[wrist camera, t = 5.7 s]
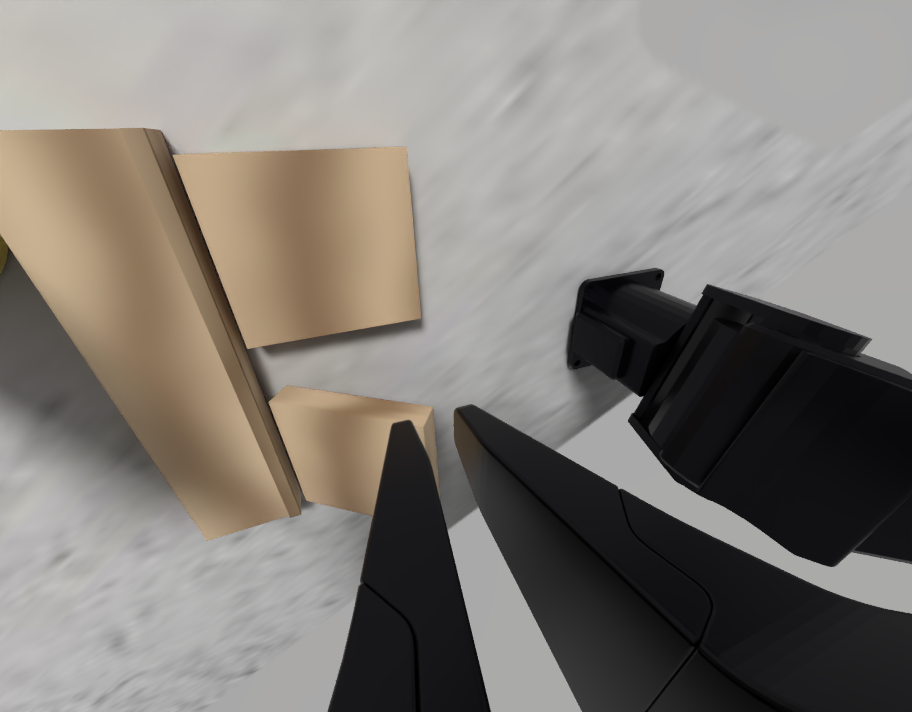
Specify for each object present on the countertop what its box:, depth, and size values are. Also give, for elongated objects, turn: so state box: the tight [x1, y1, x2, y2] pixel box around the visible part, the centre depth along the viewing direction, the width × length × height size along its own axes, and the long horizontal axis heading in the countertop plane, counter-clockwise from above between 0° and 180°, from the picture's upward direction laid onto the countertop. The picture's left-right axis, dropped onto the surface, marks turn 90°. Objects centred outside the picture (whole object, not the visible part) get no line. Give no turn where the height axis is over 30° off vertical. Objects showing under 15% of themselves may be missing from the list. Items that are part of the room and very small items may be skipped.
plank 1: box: [173, 147, 421, 349], centre depth 15 cm, size 8×8×1 cm
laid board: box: [0, 128, 301, 541], centre depth 16 cm, size 5×20×2 cm, turn 2°
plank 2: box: [269, 386, 440, 516], centre depth 19 cm, size 8×8×1 cm
